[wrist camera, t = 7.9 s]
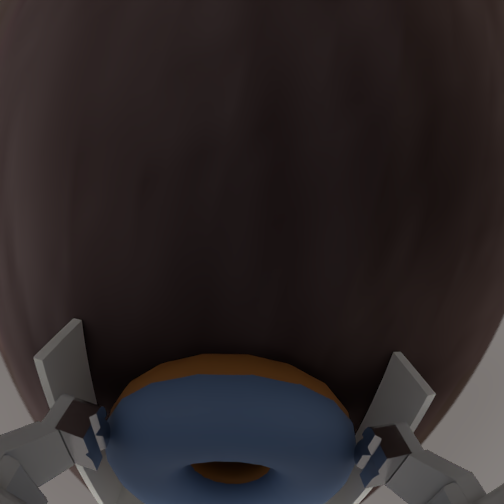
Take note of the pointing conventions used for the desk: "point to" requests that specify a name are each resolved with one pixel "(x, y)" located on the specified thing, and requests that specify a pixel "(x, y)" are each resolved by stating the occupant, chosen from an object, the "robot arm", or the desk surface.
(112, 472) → the box
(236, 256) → the desk surface
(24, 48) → the desk surface
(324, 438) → the doughnut
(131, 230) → the desk surface
